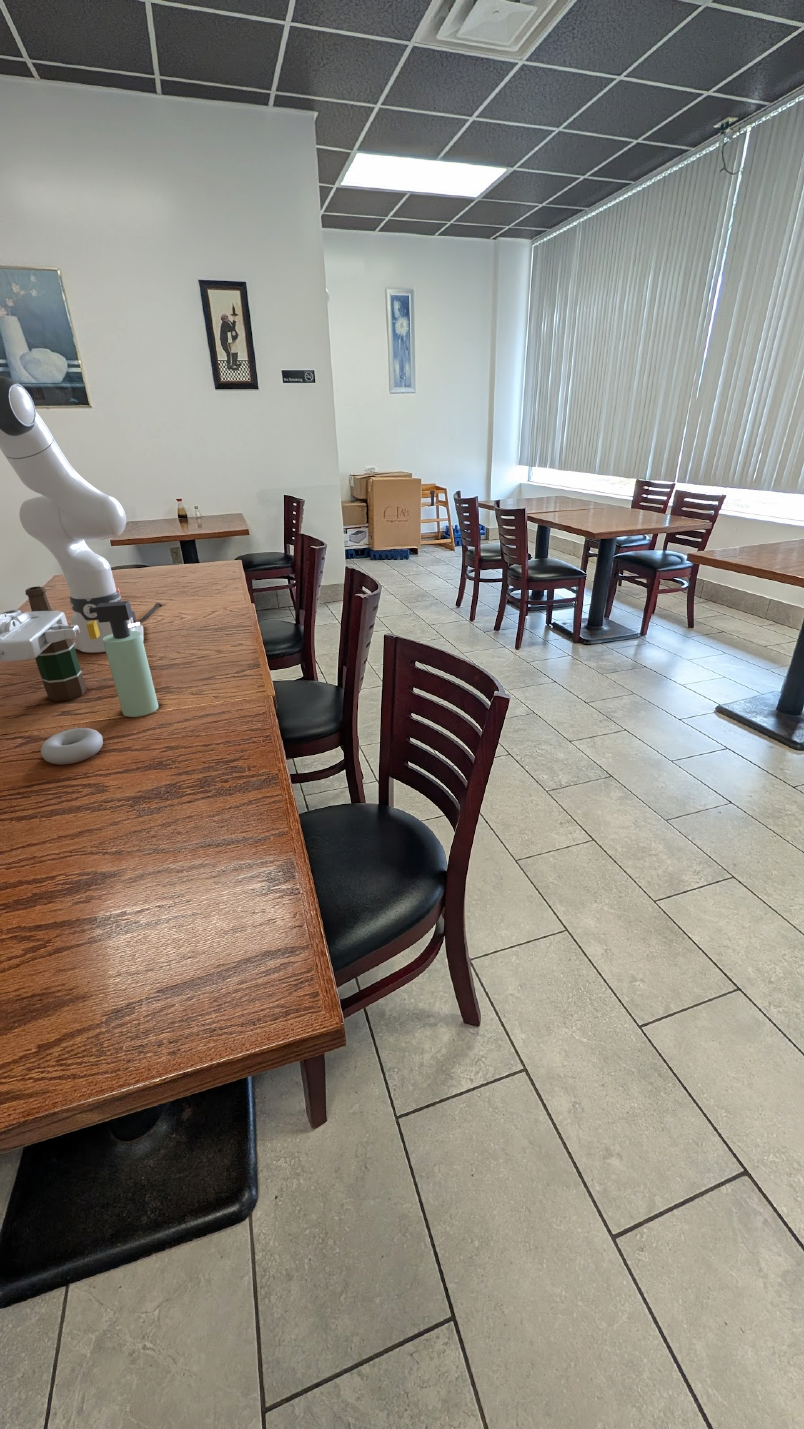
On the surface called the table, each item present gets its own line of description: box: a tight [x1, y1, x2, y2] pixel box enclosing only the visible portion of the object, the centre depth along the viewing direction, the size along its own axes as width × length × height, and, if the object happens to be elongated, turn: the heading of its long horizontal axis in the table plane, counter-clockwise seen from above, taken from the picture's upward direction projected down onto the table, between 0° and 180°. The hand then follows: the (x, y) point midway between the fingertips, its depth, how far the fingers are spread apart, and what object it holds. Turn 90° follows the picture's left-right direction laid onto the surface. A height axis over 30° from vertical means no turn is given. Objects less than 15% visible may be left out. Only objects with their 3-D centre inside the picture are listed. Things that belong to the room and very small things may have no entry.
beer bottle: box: [25, 585, 87, 702], centre depth 125 cm, size 8×8×24 cm
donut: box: [40, 727, 104, 766], centre depth 105 cm, size 10×4×10 cm
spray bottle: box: [89, 600, 159, 718], centre depth 117 cm, size 7×8×22 cm
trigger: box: [86, 620, 100, 639], centre depth 113 cm, size 2×1×3 cm, turn 11°
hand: (77, 631), depth 113 cm, fingers closed
